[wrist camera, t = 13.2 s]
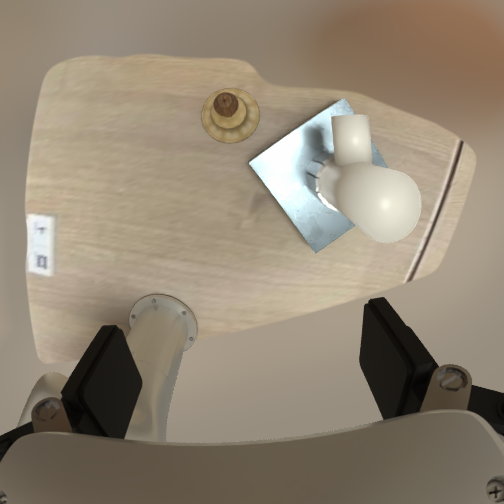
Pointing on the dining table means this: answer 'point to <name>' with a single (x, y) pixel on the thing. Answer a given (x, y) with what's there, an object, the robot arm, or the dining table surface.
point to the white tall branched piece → (368, 184)
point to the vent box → (307, 175)
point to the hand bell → (230, 115)
